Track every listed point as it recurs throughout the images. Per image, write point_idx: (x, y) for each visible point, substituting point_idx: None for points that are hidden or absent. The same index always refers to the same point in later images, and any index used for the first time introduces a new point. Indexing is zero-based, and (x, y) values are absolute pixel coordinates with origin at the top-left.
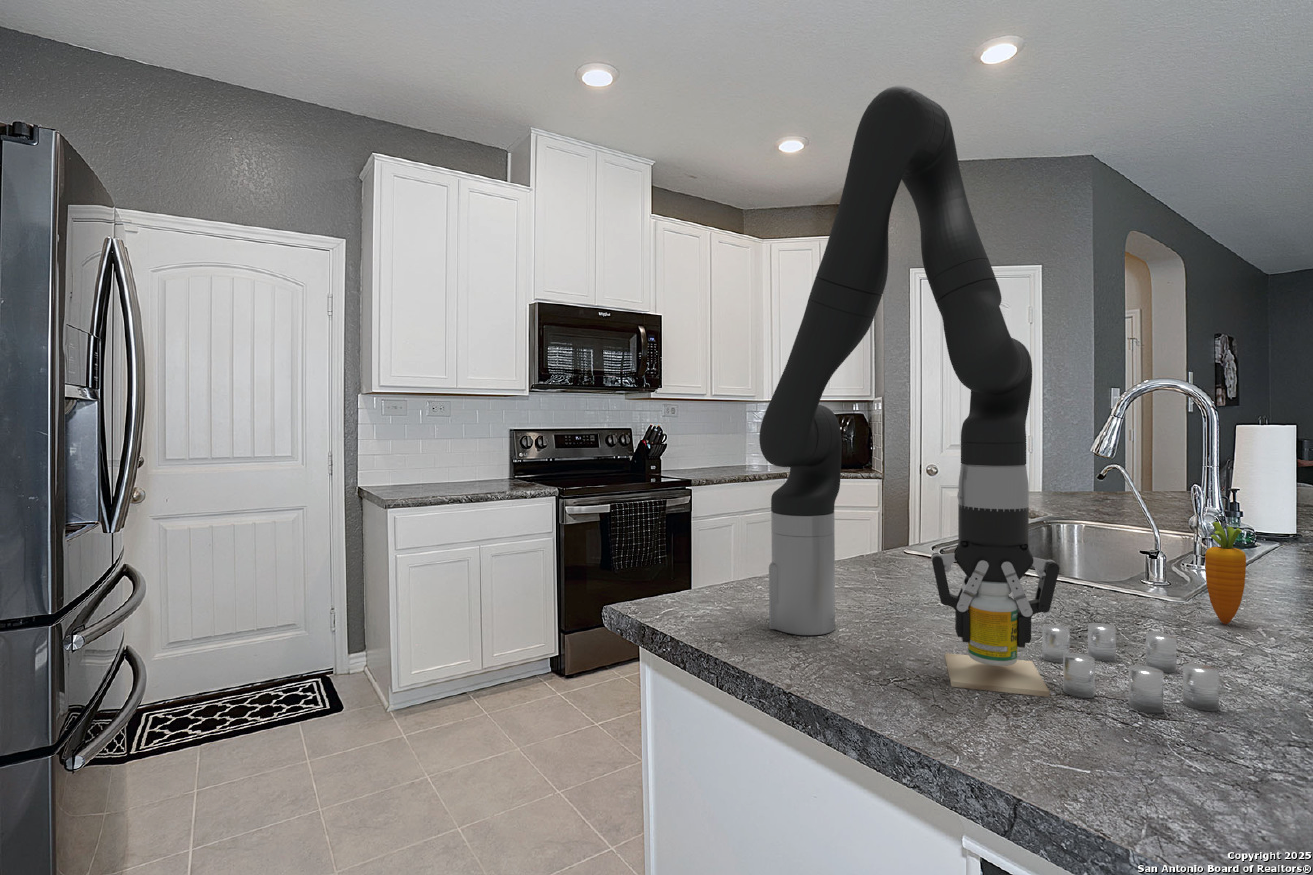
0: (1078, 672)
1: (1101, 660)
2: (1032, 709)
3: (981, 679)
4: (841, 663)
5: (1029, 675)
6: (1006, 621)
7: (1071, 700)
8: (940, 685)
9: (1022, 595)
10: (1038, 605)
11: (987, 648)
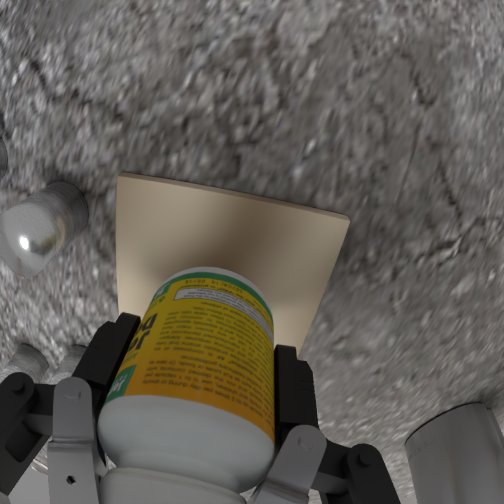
0: (36, 202)
1: (32, 347)
2: (187, 86)
3: (263, 240)
4: (489, 317)
5: (138, 273)
6: (152, 363)
7: (85, 162)
8: (369, 222)
9: (60, 446)
10: (29, 399)
11: (236, 301)
